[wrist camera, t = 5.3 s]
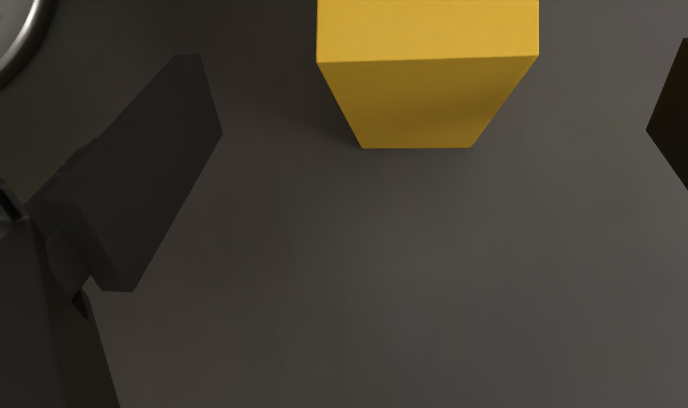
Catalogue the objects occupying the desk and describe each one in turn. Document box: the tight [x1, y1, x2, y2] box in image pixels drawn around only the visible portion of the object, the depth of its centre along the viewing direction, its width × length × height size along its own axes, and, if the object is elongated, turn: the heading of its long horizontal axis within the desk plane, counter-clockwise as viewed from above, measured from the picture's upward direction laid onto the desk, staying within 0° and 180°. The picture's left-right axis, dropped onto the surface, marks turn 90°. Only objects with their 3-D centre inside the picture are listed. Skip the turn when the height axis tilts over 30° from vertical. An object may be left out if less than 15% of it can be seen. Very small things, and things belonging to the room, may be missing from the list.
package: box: [316, 0, 539, 149], centre depth 18 cm, size 6×8×12 cm
